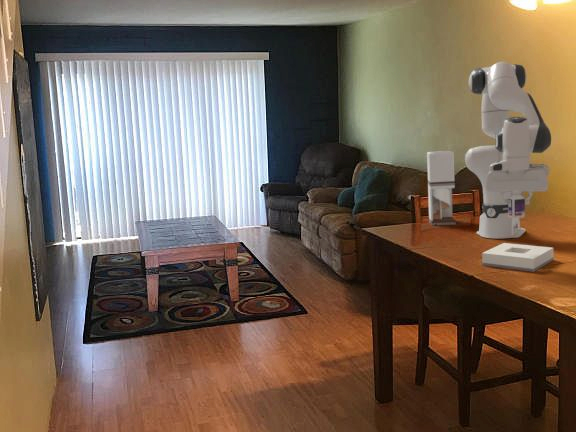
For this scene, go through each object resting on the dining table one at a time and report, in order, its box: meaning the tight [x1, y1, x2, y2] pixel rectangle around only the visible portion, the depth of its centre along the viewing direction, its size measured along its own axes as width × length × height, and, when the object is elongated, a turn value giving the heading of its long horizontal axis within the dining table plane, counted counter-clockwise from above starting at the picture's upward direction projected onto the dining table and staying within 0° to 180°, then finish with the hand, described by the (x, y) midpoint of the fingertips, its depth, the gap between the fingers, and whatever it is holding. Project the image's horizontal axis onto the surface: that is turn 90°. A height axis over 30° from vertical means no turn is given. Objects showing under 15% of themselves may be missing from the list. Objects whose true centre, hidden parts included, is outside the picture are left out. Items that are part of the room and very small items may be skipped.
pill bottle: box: [508, 190, 526, 219], centre depth 203 cm, size 5×5×10 cm
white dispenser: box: [426, 150, 457, 226], centre depth 285 cm, size 11×11×35 cm
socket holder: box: [481, 242, 554, 273], centre depth 206 cm, size 18×18×4 cm
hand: (516, 204), depth 203 cm, fingers closed on pill bottle, 5 cm apart
